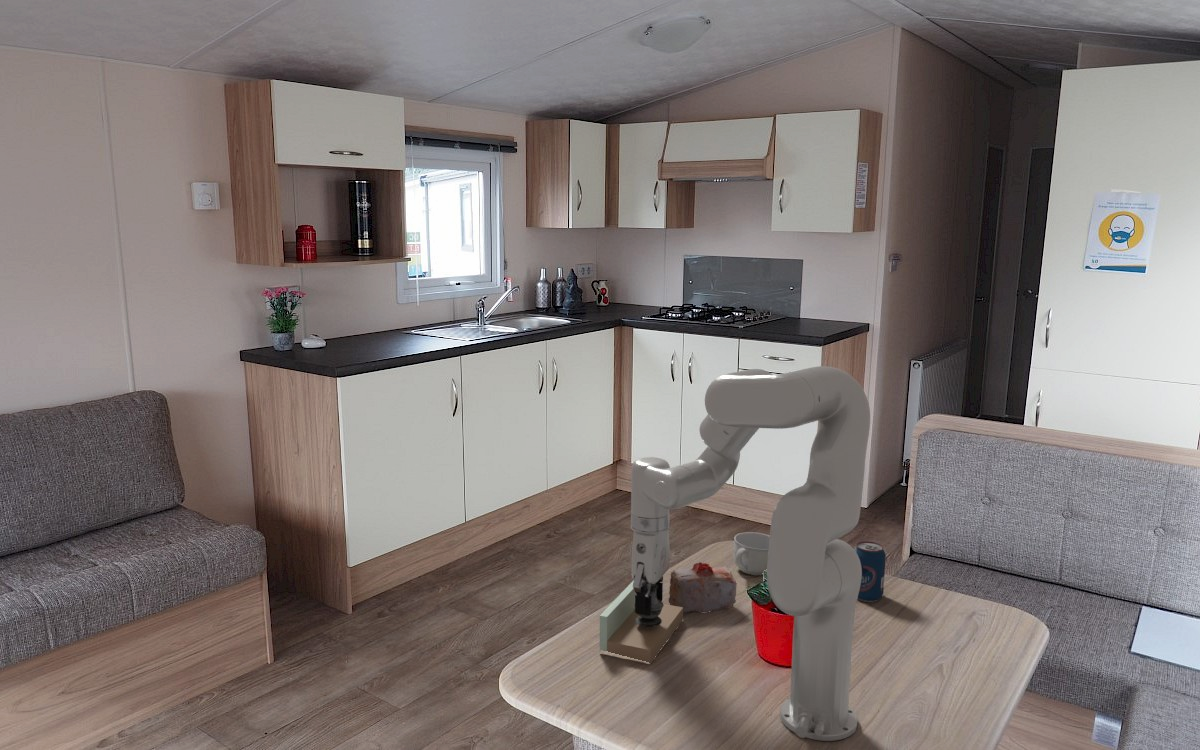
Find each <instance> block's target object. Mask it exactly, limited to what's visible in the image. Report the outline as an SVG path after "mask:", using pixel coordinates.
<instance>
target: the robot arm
mask: <svg viewBox="0 0 1200 750" xmlns="http://www.w3.org/2000/svg"><path fill="white" fill-rule="evenodd" d="M704 406H705V407H704V408H705V410H706V413H707V414H706V416H705V418H704V419H702V421H701V422H700V425H699V430H698V431H699V436H700V438H701V440H702V443H704V444H705V446H706V448H705V449H704V450H703V451H702V453H701V454H700V455H699V456H698V457H697V458H696V459H695V460H694V461H691V462H686V463H683V464H680V465H676V466H673V467H670V464H669V462H668V461H667V460H665V459H663V458H660V457H654V456H648V457H641V458H637V459H636V460H635V461H633V463H632V465H631V472H630V473H631V475H630V476H631V477H630V478H631V479H630V480H631V483H630V485H631V486H630V487H631V488H630V489H631V491H630V493H631V494H630V496H631V497H630V529H631V530H632V531H633V538H632V546H631V547H632V548H631V549H632V550H631V578H632V581H633V580H634V582H633V588H634V590H635V613H636V614H641V615H646V616H650V615H651V596H650V589H651V583H652V584H655V583H656V584H657V585H658V588H657V589H656V596H657V599H658V600H660V601H661V602H663V598H664V596H663V589H664V587H663V586H664V585H663V584H664V583H663V581H664V575H665V574H666V573H667V571H669V569H670V564H671V563H670V561H671V559H670V536H669V530H670V510H677V509H681V508H684V507H686V506H689V505H690V506H691V504H694V503H698V502H701V501H704V500H706V499H709V498H711V497H712V496H714V495H715V494H717V493H718V492H719V491H720V490H721V489H722V487H723V486H724V485H725V484H726V483H727V482H728V481H729V480H730V479H731V478H732V476H733V475H734V474H735V472H736V470H737V468H738V466H739V463H740V460H741V459H740V458H741V451H742V450H743V448H744V447H745V446H746V445H747V444H748V443H749V442H750V440H751V438H752V437H753V436H755V434H756V433H757V432H758V431H759V430H760V429H774V430H776V429H780V430H781V429H792V428H796V427H797V428H798V427H800V426H803V425H806V424H810V423H814V422H819V426H818V430H817V433H816V435H815V437H814V439H813V441H812V445H811V448H810V452H809V465H808V466H809V467H808V473H807V477H806V482H805V483H804V484H803V485H802V486H801V485H800V486H799V487H796V488H794V489H791V490H790V491H788V492H786V493H785V494H784V495H782V497H781V498H779V500H778V502H777V503H776V504H775V507H774V510H773V512H772V516H771V522H770V530H769V531H770V532H769V535H770V541H769V552H768V564H767V574H766V582H767V589H768V592H769V596H770V598H771V600H772V602H773V603H774V605H775V606H776V607H777V608H778V609H779V611H781V612H783V613H785V614H787V615H789V616H792V617H793V618H794V619H793V629H792V631H793V632H792V652H791V653H792V655H791V657H792V658H791V674H790V675H791V676H790V677H791V678H790V696H789V698H787V699H786V700H784V701H783V702H782V703H781V706H780V709H779V716H780V720H781V722H782V724H783V725H785V727H787V728H788V729H789V730H790V731H792V732H793V733H795V734H796V735H797V736H798V737H799V738H803V739H804V738H806V739H810V740H815V741H820V742H821V741H822V742H834V741H840V740H843V739H844V740H845V739H846V738H848V737H850V736H851V735H853V734H854V733H855V732H856V731H857V729H858V728H857V727H858V716H857V714H856V712H855V711H854V710H853V709H852V708H851V706H849V699H850V686H851V685H850V684H851V667H852V648H853V638H854V637H853V636H854V625H855V615H856V614H855V613H856V608H857V607H856V606H857V602H858V599H857V598H858V594H859V590H860V585H861V578H862V568H861V563H860V559H859V557H858V555H857V553H856V552H855V550H854V549H855V548H853V547H852V545H850V544H849V543H848V542H846V541H844V540H843V539H839V538H841V537H843V536H845V535H847V534H848V533H851V532H852V531H853V530H854V529H855V527H857V525H858V523H859V520H860V515H861V507H862V499H863V498H862V497H863V488H864V479H865V470H866V469H865V468H866V459H867V456H866V455H867V449H868V442H869V441H868V440H869V436H870V427H871V409H870V403H869V400H868V397H867V394H866V393H865V391H864V389H863V387H862V385H861V384H860V383H859V382H858V381H857V380H856V378H854V377H853V375H851V374H849V373H848V372H847V371H845V370H843V369H840V368H838V367H833V366H829V365H828V366H827V365H824V366H823V365H818V366H813V367H812V366H811V367H807V368H803V369H797V370H794V371H790V372H789V371H788V372H784V373H780V374H779V373H777V374H773V373H771V372H769V371H768V370H764V369H761V368H749V369H743V370H739V371H735V372H734V371H733V372H730V373H724V374H721V375H718V376H717V377H716V378H715V379H713V381H712V382H711V383H710V384H709V385H708V387H707V388H706V392H705V394H704ZM643 577H646V578H647V580H642V579H643ZM642 583H645V584H647V585H646V589H645V588H644V587H642Z"/></svg>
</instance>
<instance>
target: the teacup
mask: <svg viewBox="0 0 1200 750" xmlns="http://www.w3.org/2000/svg"><path fill="white" fill-rule="evenodd" d="M733 540H734V541H733V562H734V564H735V566H736V567H737V568H738V569H739V570H740V571H741V572H743V573H745V574H747V575H750V574H751V575H750V576H756V575H760V576H763V575H762V573H763V571H764V570H766V569H767V564H768V552H769V541H770V534H766V533H762V532H753V531H749V532H748V531H745V532H739V533H737V534H735V535H734V537H733Z"/></svg>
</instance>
